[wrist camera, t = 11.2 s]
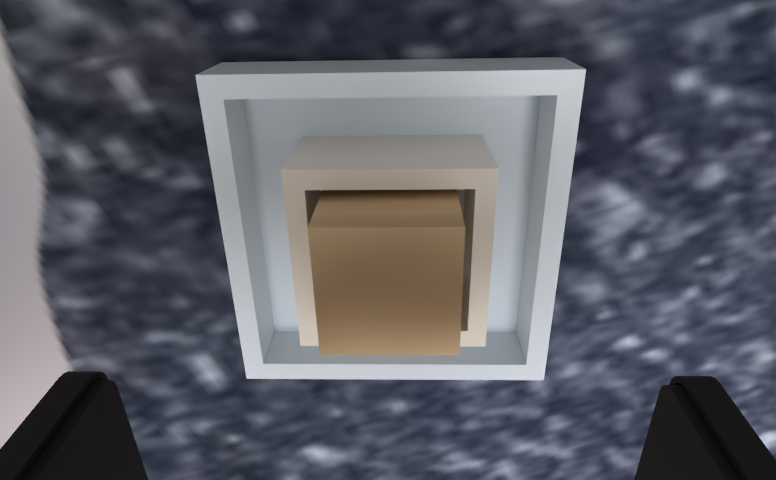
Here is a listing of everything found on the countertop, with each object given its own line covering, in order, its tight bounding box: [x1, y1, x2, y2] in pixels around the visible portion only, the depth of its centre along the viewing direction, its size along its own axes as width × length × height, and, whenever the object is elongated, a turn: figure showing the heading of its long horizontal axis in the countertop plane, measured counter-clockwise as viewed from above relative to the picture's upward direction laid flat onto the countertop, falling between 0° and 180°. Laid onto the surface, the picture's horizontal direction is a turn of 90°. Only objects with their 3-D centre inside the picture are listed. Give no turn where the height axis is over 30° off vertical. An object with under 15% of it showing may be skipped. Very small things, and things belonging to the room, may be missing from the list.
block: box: [308, 189, 465, 355], centre depth 17 cm, size 4×4×4 cm
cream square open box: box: [281, 135, 499, 347], centre depth 18 cm, size 6×6×4 cm
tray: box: [195, 57, 586, 380], centre depth 19 cm, size 11×11×2 cm
